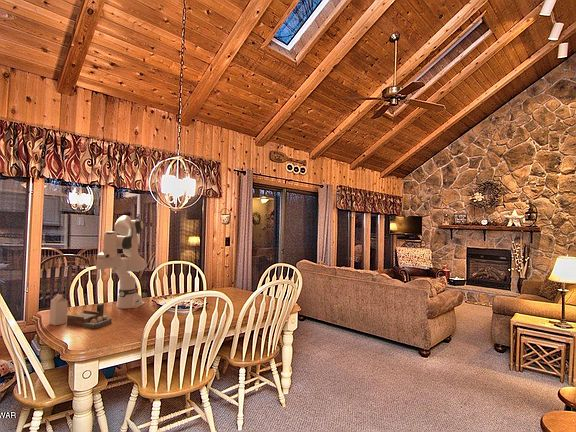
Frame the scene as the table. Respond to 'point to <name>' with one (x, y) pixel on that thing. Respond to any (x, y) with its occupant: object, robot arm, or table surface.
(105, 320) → the tray
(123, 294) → the robot arm
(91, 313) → the channel block
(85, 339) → the table surface
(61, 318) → the milk carton
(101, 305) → the scraper
